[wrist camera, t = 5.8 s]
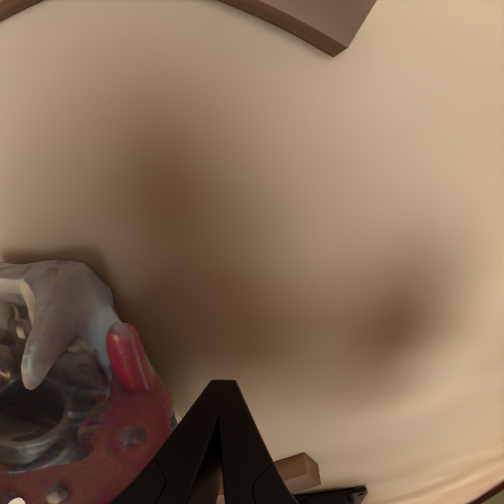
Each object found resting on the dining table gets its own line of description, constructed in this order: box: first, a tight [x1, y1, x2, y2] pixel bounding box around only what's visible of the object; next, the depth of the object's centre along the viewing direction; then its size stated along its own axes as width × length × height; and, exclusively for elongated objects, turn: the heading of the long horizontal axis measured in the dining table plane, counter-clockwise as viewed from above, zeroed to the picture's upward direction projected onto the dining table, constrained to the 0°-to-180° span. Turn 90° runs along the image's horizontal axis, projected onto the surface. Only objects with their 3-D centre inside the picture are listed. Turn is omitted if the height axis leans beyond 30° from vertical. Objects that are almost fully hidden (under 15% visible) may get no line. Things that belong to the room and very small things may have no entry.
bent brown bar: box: [0, 0, 377, 504], centre depth 11 cm, size 30×26×2 cm
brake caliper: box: [0, 260, 178, 504], centre depth 9 cm, size 11×11×12 cm
